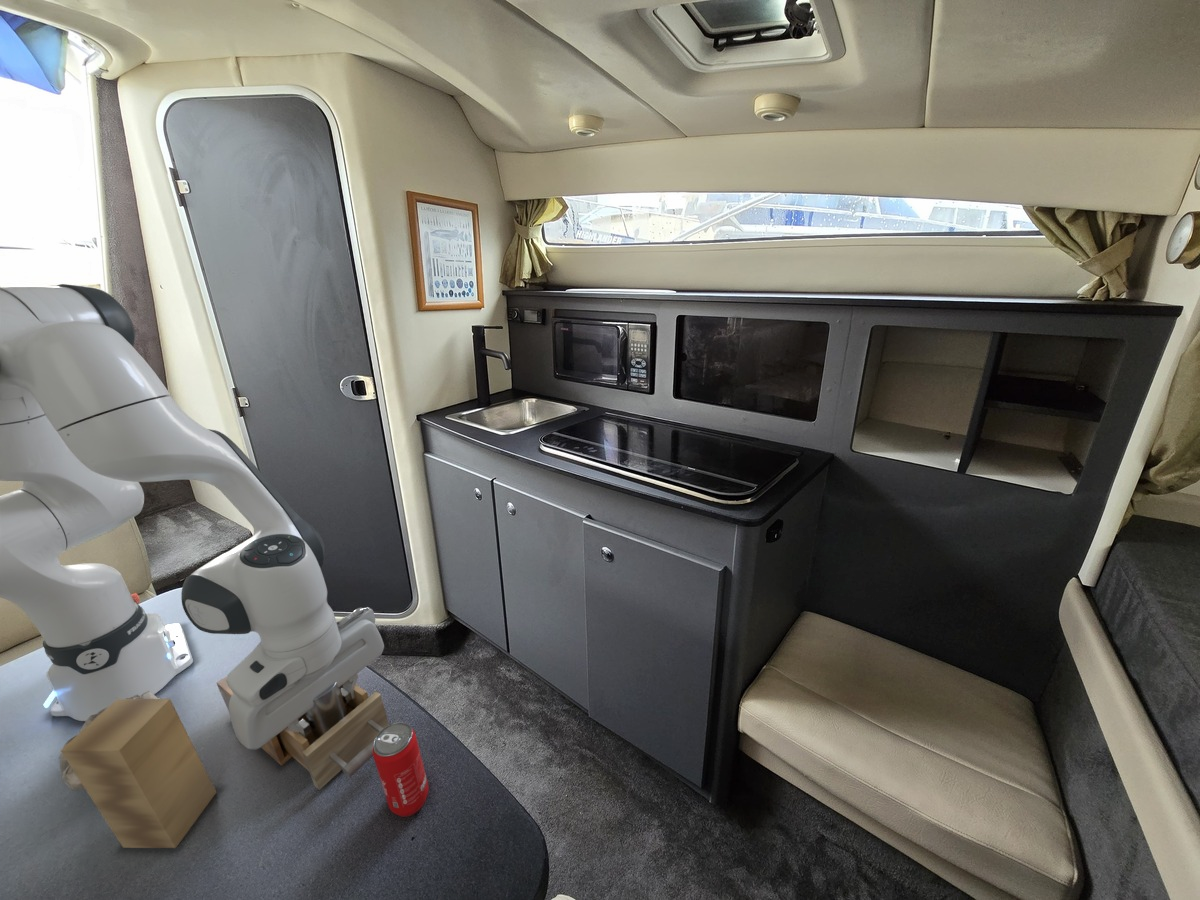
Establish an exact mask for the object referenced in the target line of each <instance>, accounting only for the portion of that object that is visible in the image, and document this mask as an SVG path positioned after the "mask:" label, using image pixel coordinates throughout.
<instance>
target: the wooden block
mask: <svg viewBox="0 0 1200 900" xmlns="http://www.w3.org/2000/svg"><path fill="white" fill-rule="evenodd" d="M76 735H77V736H76ZM76 735H75V736H76V737H75V738H74V739H73V740H72V741H70V742H69V743H68V744H67V745H66V746H65V747H64V746H63V747H64V748H63V747H62V748H61V750H60V753H61V752H62V754H63V755H64V757H65V758H66V760H67V762H68V763H69V765H70V766H71V768H72V769H73V771H74V772H75V774H76V775H77V777H78V779H79V780H80V782H81V783H82V785H83V786H84V788H85V789H84V790H85V791H86V793H87V794H88V796H89V797H90V799H91V800H92V802H93V803H94V805H95V807H96V808H97V809H98V812H99V813H100V814H101V816H102V817H103V820H105V822H106V824H107V825H108V826H109V829H110V830H111V831H112V833H113V834H114V836H115V838H116V839H117V840H118V842H119V843H120V845H121V847H122V848H123V849H176V848H177V847H178V846H179V845H180V844H181V842H182V841H183V839H184V838H185V836H186V835H187V834H188V833H189V831H190V830H191V828H192V827H193V825H194V824H195V823H196V822H197V820H198V819H199V817H200V816H201V815H202V814H203V812H204V810H205V809H206V808H207V806H208V805H209V804H210V802H211V801H212V800H213V798H214V797H215V795H216V794H217V790H216V788H215V787H214V786H215V785H214V784H213V781H212V780H211V779H210V776H209V774H208V772H207V770H206V769H205V766H204V764H203V762H202V760H201V757H200V756H199V754H198V752H197V751H196V748H195V746H194V744H193V742H192V740H191V738H190V736H189V733H188V731H187V730H186V728H185V726H184V724H183V722H182V720H181V718H180V716H179V714H178V712H177V710H176V708H175V706H174V704H173V702H172V699H171V698H158V699H117V700H116V701H114V702H113V703H112V704H111V705H110V706H109V707H108V708H107V709H106V710H105V711H103V712H102V713H101V714H100V715H99V716H98V717H97V718H96V719H95V720H94V721H92V722H91V723H90V724H89V725H88V726H87V727H86V728H85V729H84V730H83V731H81V732H80V731H79V733H78V734H76Z"/></svg>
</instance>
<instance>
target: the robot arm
mask: <svg viewBox="0 0 1200 900" xmlns="http://www.w3.org/2000/svg"><path fill="white" fill-rule="evenodd" d="M135 340H136V331H135V326H134V324H133V320H132V318H131V316H130V315H129V313H128V312H127V310H126V309H125V307H124V306H123V305H122V304H121V303H120V302H119V301H118V300H117V299H115V298H114V297H113V296H112V295H111V294H109V292H106V291H105V290H103V289H101V288H98V287H93V286H88V285H82V284H81V285H80V284H70V283H69V284H68V283H61V284H57V285H55V286H52V285H8V286H0V481H1V482H23V483H22V486H21V487H20V488H16V489H14V490H13V491H11V492H7V493H4V494H1V495H0V598H1V599H4V600H7V601H8V602H11V603H12V604H13V605H15V606H17V607H18V608H19V609H20V610H22V612H23V613H24V614H25V615H26V616H27V617H28V619H29V620H30V621H31V623H32V624H33V625H34V627H35V629H36V630H37V631H38V633H39V634H40V637H42V639H43V640H42V647H43V649H44V653H45V655H46V657H47V658H48V659H49V660H50V661H51V663H52V664H51V665H50V666H49V668H48V670H47V671H46V673H45V675H46V678H47V680H48V683H49V685H50V687H51V689H52V692H51V693H50V694H49V696H48V697H47V699H46V700H45V702H44V703H43V707H44V708H45V709H47V708H49V707H50V705H51V704H52V702H53V700H54V699H55V698H56V701H54V703H53V705H52V706H51V707H50V710H49V711H50V714H51V716H52V717H69V718H72V719H73V720H76V721H79V722H86V721H87V719H88V718H89V717H90V716H91V715H92V714H95V713H97V712H98V711H100V710H101V709H104V708H107V707H109V706H110V705H111V704H112V703H113V702H114V701H116V700H117V699H126V698H131V697H133V696H135V695H139V696H141V695H142V694H143V693H145V692H148V691H150V692H152V693H153V694H154V695H156V694H157V693H158V692H160V691H161V690H162V689H163V688H165V686H166V685H167V684H169V683H170V682H171V681H172V679H173V678H175V677H176V676H177V675H178V674H180V673H181V672H183V671H184V670H186V669H187V668H189V667H190V666H191V665H193V662H194V659H193V655H192V653H191V649H190V647H189V643H188V641H187V638H186V634H185V632H184V629H183V627H182V625H181V623H168V624H165V623H164V621H163V620H162V617H161V616H160V614H158V613H155V612H146V611H145V609H144V608H143V607H142V606H140V596H139V594H138V593H137V592H134V593H131V592H130V590H129V588H128V586H127V584H126V581H125V579H124V578H123V576H122V574H121V572H120V571H119V570H118V569H116V568H114V567H113V566H110V565H109V564H105V563H97V562H96V563H94V562H90V563H89V562H85V563H76V564H68V565H62V563H61V561H60V559H59V556H60V555H61V554H64V553H65V552H68V551H69V550H72V549H74V548H77V547H78V546H80V545H84V544H85V543H88V542H91V541H92V540H95V539H97V538H100V537H102V536H104V535H106V534H109V533H111V532H113V531H115V530H116V529H118V528H119V527H121V526H122V525H124V524H126V523H127V522H129V521H130V520H131V519H133V518H135V517H137V516H138V515H139V514H140V513H141V512H142V511H143V508H144V505H145V493H144V489H143V487H142V485H141V483H154V482H166V481H178V480H180V481H181V480H189V481H190V480H191V481H197V482H198V481H200V482H203V483H206V484H209V485H211V486H212V487H215V488H216V489H217V490H219V491H220V493H222V494H223V495H224V497H225V498H226V499H227V500H228V501H229V502H230V503H231V505H233V507H234V508H235V509H236V510H237V511H238V512H239V513H240V514H241V515H242V517H244V518H245V520H246V521H247V522H248V523H249V524H250V525H251V526H252V528H253V534H252V536H251V537H249V538H247V539H245V540H244V541H242V542H241V543H238V544H237V545H236V546H234V547H232V548H231V549H229V550H228V551H226V552H223V553H222V554H220V555H218V556H217V557H215V558H213V559H212V560H210V561H208V562H206V563H205V564H204V565H202V566H201V567H199V568H197V569H196V570H195V571H193V572H192V573H191V574H190V575H187V577H186V578H185V579H184V582H183V584H182V588H181V605H182V608H183V612H184V613H185V615H186V617H187V618H188V620H189V621H190V623H191V624H192V625H193V626H194V627H195V628H196V629H198V630H199V631H201V632H204V633H207V634H212V635H213V634H214V635H215V634H216V635H217V634H218V635H248V634H249V633H252V632H254V633H256V634H258V636H259V641H260V642H259V643H258V644H257V645H256V646H255V648H253V650H252V651H251V652H250V653H249V654H248V655H247V656H245V658H244V659H243V660H242V661H241V662H240V663H238V664H237V665H236V666H235V667H234V668H233V669H232V670H231V671H230V672H229V673H228V674H227V675H226V676H227V677H226V676H225V677H226V683H227V685H228V686H229V688H230V689H231V691H232V692H233V694H232V696H231V698H230V701H229V711H228V713H229V712H230V713H229V718H230V722H231V726H232V729H233V732H234V735H235V737H236V738H237V740H238V741H239V742H240V743H241V744H242V746H244V747H245V748H246V749H248V750H259V749H261V747H262V746H263V745H264V744H266V743H267V742H268V741H270V740H271V739H272V738H273V737H275V736H276V735H277V734H279V733H280V732H281V731H283V730H284V729H285V728H287V729H289V730H291V731H294V732H298V733H300V734H301V735H302V736H303V737H304V738H305V737H306V736H307V735H309V734H310V733H311V732H312V729H311V726H310V724H309V723H308V722H306V721H305V720H304V719H302V720H301V721H299V720H298V718H300V717H301V716H302V715H304V714H305V713H306V712H307V711H309V710H310V709H311V708H313V707H314V703H313V699H314V698H315V697H317V696H318V695H319V694H321V693H322V692H323V691H325V690H326V689H327V688H329V687H330V686H331V685H333V684H334V683H335V682H337V685H338V687H340V686H341V685H343V688H342V689H341V693H342V696H343V699H344V702H345V704H347V703H348V702H350V701H351V700H352V699H354V698H355V694H354V688H355V685H357V681H358V678H359V675H358V674H359V673H360V672H361V671H362V670H364V669H365V668H366V667H368V666H369V665H370V664H372V663H373V662H374V661H376V660H377V659H378V658H380V657H381V656H382V654H383V652H384V649H385V644H384V641H383V638H382V636H381V633H380V632H379V630H378V628H377V625H376V624H375V623H376V616H375V611H374V610H373V608H371V607H368V606H366V607H365V606H364V607H357V608H356V609H355V610H353V611H352V612H351V613H350V614H347V615H346V616H344V617H342V618H340V619H339V620H338V621H337V618H336V616H335V613H334V609H333V608H332V606H330V605H329V603H328V588H327V585H326V581H325V577H324V575H323V572H322V568H323V566H324V561H325V552H326V551H325V544H324V540H323V538H322V536H321V534H320V533H319V532H318V531H317V529H316V528H314V527H313V526H312V525H311V524H310V523H309V522H308V521H306V520H305V519H304V518H303V517H301V516H300V515H299V514H298V513H297V512H296V511H295V510H294V509H293V508H292V507H291V505H289V503H288V502H287V501H286V500H285V499H284V497H282V495H281V494H280V493H279V492H278V491H277V489H276V488H275V487H274V485H273V484H271V482H270V481H269V480H268V478H267V477H266V476H265V475H264V474H263V473H262V472H261V471H260V470H259V468H258V467H257V466H256V465H255V464H254V463H253V461H252V460H251V459H250V458H249V457H248V456H247V455H246V454H245V452H244V451H243V450H242V449H241V448H240V447H239V446H238V445H237V444H236V443H235V442H234V441H233V440H232V439H231V438H229V436H227V435H226V434H224V433H223V432H221V431H218V430H216V429H209V428H206V427H204V426H203V425H201V424H200V423H198V422H197V421H196V420H194V419H193V418H191V417H190V416H189V415H188V414H187V413H186V412H185V411H184V410H183V409H182V408H181V407H180V406H179V405H178V404H177V402H176V401H175V399H174V398H173V396H172V395H171V393H170V392H169V390H168V389H167V387H166V386H165V385H164V383H163V382H162V380H161V379H160V378H159V376H158V375H157V373H156V372H155V370H153V369H152V367H151V366H150V365H149V364H148V362H147V361H146V359H144V357H143V356H142V355H141V354H140V353H139V352H138V350H136V348H135V347H134V344H135Z"/></svg>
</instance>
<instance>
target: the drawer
mask: <svg viewBox="0 0 1200 900" xmlns="http://www.w3.org/2000/svg"><path fill="white" fill-rule="evenodd" d="M342 688H343V685H341V686H340V690H341V689H342ZM354 694H355V698H354V699H352V700H351V701H350V702H348V703H347V704H345V705H346V709H347V712H348V715H347V716H345V717H344V718H343V719H342V720H340V721H339V722H338V723H337V724H336V725H334V726H333V727H332V728H331V729H330V730H328V731H327V732H326V733H325V734H324V735H322V736H321V737H320V738H319V739H317V740H316V741H315V740H314V738H313V735H312V732H311V733H310V734H309V735H307V736H306V737H305V738H304V737H303V736H302V735H301V734H300V733H298V732H294V731H291V730H289V729H287V728H285V729H284V730H283V731H281V732H280V733H279V734H277V735H276V736H277V739H278V741H279V744H280V746H281V747H282V748H283V749H284V750H285V751H286V752H288V753H289V754H290V755H291V756H292V758H293V759H294V760H295V761H296V762H298V763H299V764H300V765H301V766H302V767H303V768H305V769H306V770H307V771H308V772H309V774H310V777H311V780H312V783H313V785H314V787H315V788H316V789H318V790H319V791H320V790H322V789H323V788H324V787H325V785H327V784H328V783H329V782H330V781H331V780H332V779H333V778H335V776H337V775H338V774H339V773H340V772H341V771H342V772H343V774H344V775H345V776H346V777H347V778H348V779H350V778H351V777H352V776H353V775H354V774H355V773H356V772H357V771H359V770H360V769H361V768H362V767H363V766H364V765H365V764H366V763H368V761H370V759H371V758H373V744H374V740H375V738H376V736H377V735H378V733H379V732H380V731H381V730H382V729H384V728H385V727H387V726H388V725H390V723H389V719H388V715H387V712H386V709H385V704H384V701H383V697H382V694H381V693H380V692H378V691H374V692H373V693H372V694H371V695H369V694H368V692H367V691H366V690H365V689H363V688H362V687H360V686H359V685H357V684H356V685H355V688H354ZM302 719H304V720H305V721H306V722H308V721H307V718H306V715H305V714H304V715H302V716H301V717H300V718H298V720H299V721H301V720H302Z"/></svg>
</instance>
